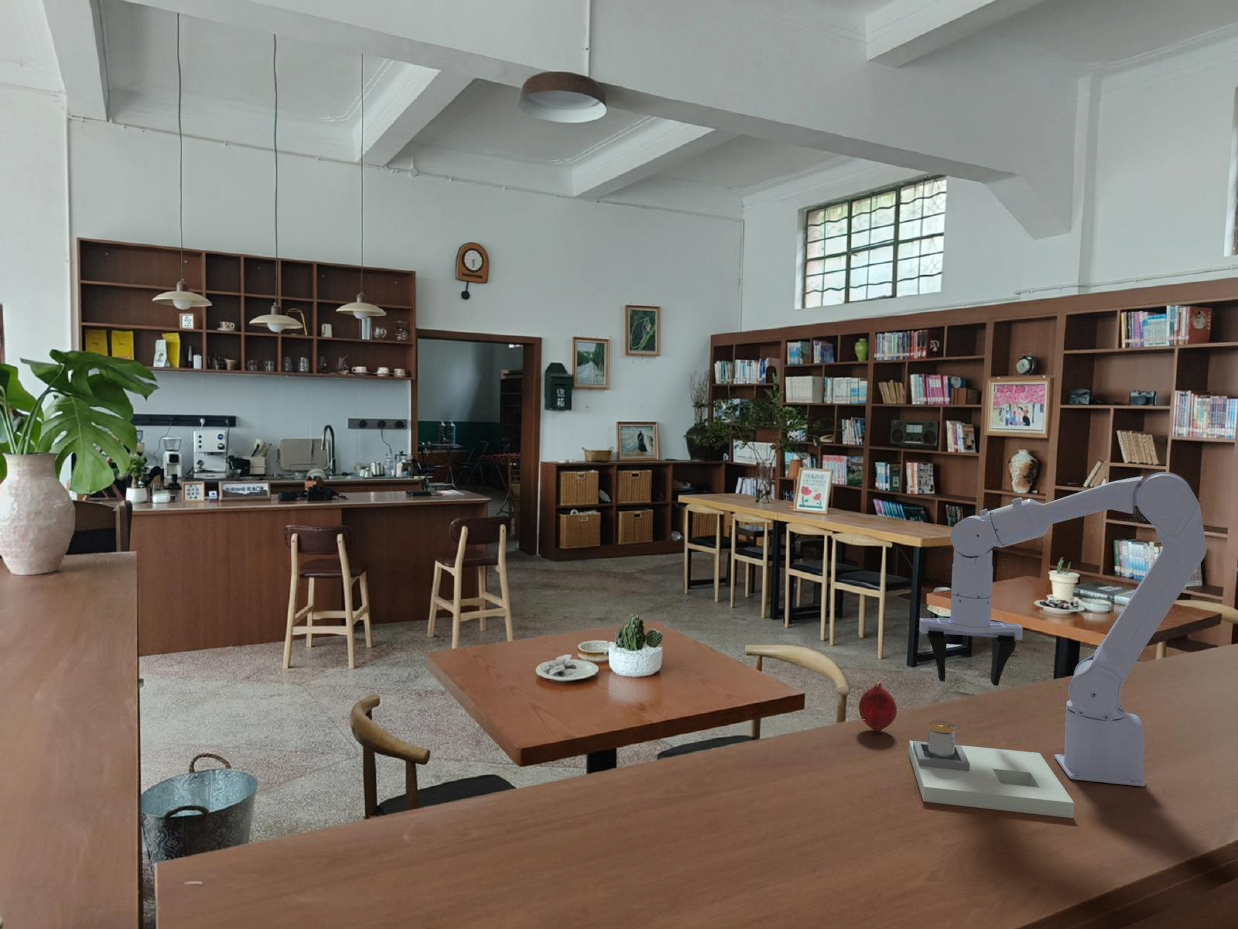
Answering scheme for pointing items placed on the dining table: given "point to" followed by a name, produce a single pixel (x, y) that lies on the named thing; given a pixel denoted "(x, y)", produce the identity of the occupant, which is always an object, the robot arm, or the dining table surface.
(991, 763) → the board
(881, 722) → the onion
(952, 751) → the silver and gold cylinder
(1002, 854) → the dining table surface
